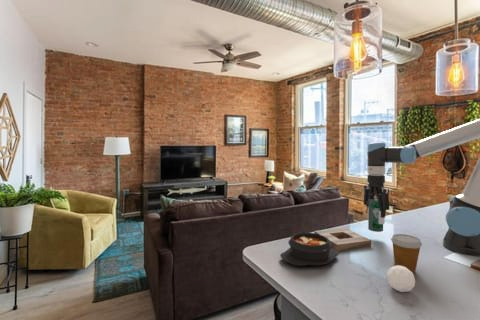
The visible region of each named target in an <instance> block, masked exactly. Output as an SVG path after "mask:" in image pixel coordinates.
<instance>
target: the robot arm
mask: <svg viewBox="0 0 480 320" xmlns="http://www.w3.org/2000/svg"><path fill="white" fill-rule="evenodd" d="M478 139H480V118H478V119H475V120H473V121H469V122H467V123H464V124H462V125H459V126H458V125H457V126H456V127H453V128H451V129H448V130H445V131H441V132H440V133H437V134H434V135H430V136H429V137H426V138H423V139H420V140H418V141H415V142H411V143H409V144H406V145H404V146H386V142H369V143H368V145H367V181H366V182H367V183H368V184H367V185H363V190H364V191H363V205H365V207H366V213H367V215H366V216H367V219H366V220H367V221H368V205H369V198H371V199H372V198H375V196H376V198H377V199H378V201H379V207H380V210H379V224H383V225H385V218H386V211H389V210H390V197H389V196H390V188H385V185H384V184H385V183H386V176H385V174H386V163H390V164H391V163H392V164H394V163H395V164H414V163H415V162H416V159H419V158H421V157H422V158H423V157H425V156H428V155H431V154H435V153H437V152H441V151H445V150H447V149H450V148H453V147H456V146H460V145H462V144H465V143H469V142H472V141H475V140H478ZM448 202H449V209H448V211H447V213H446V214H445V222H446V224H447V226H448V229H447V231H446V233H445V235H444V237H443V239H442V245H443V247H445V248H446V249H448V250H451V251H454V252H456V253H460V254H464V255H469V256H470V255H471V256H480V157H479V158H478V160H477V162H476V164H475V166H474V169H473V171H472V172H471V174H470V177H469V179H468V180H467V183H466V185H465V187H464V188H463V190H462V193H459V194H456V195H453V196H450V199H449V201H448Z"/></svg>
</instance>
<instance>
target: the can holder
mask: <svg viewBox="0 0 480 320" xmlns="http://www.w3.org/2000/svg"><path fill="white" fill-rule="evenodd" d="M313 233H315V234H319V235H322V236H325V237H326V238H328V239H329V242H330V244H331V245H332V249H334V250H336V251H337V252H343V251H348V250H351V251H352V250H358V249H363V248H364V249H365V248H371V247H372V239H369V238H368V237H366V236H363V235H361V234H359V233H357V232H355V231H353V230H351V229H349V228H346V227H340V228H331V229H322V230H314V232H313Z"/></svg>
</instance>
